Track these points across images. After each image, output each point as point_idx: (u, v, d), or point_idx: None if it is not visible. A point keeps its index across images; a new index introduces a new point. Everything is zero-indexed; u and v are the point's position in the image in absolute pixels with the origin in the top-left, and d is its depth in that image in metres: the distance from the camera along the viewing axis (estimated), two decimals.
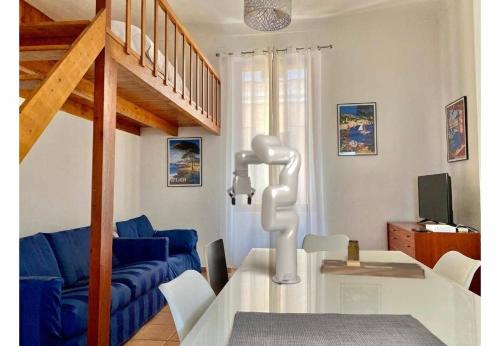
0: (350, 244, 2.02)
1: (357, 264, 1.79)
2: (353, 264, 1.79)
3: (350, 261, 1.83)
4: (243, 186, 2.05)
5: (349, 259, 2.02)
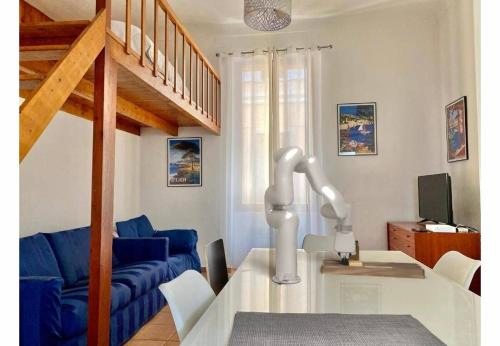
0: None
1: (359, 264, 1.78)
2: (355, 264, 1.79)
3: (352, 261, 1.83)
4: (344, 243, 1.80)
5: (349, 259, 2.02)
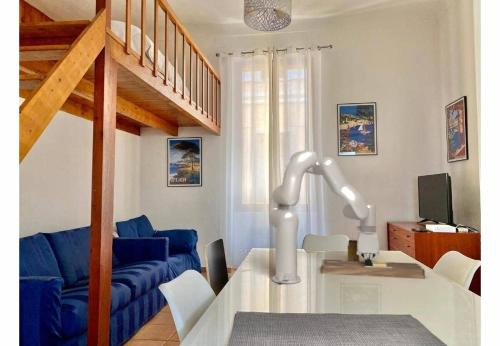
0: (350, 244, 2.02)
1: (383, 265, 1.76)
2: (379, 265, 1.76)
3: (376, 262, 1.80)
4: (368, 244, 1.78)
5: (349, 259, 2.02)
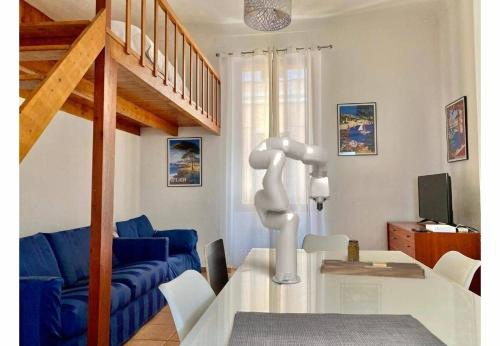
0: (350, 244, 2.02)
1: (383, 265, 1.76)
2: (379, 265, 1.76)
3: (376, 262, 1.80)
4: (319, 188, 1.89)
5: (349, 259, 2.02)
